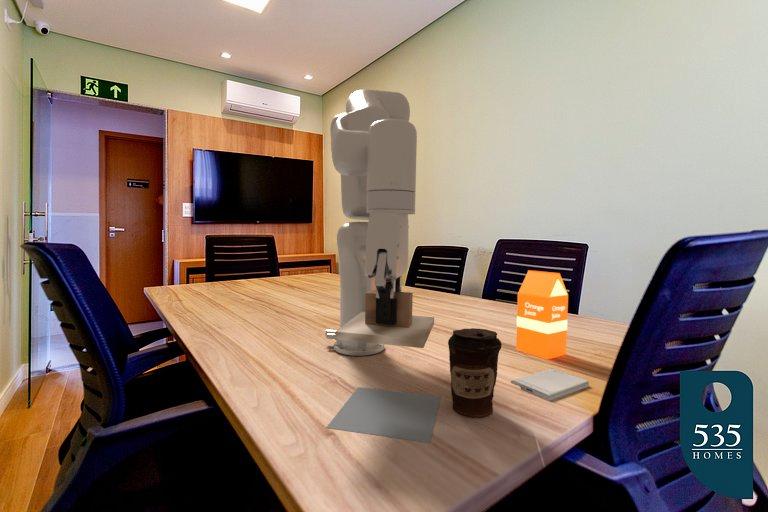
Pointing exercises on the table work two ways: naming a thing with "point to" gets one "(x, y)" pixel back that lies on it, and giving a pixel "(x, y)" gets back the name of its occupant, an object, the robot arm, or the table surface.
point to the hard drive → (550, 384)
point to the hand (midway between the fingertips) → (388, 319)
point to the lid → (401, 334)
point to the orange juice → (542, 315)
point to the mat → (388, 414)
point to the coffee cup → (473, 371)
